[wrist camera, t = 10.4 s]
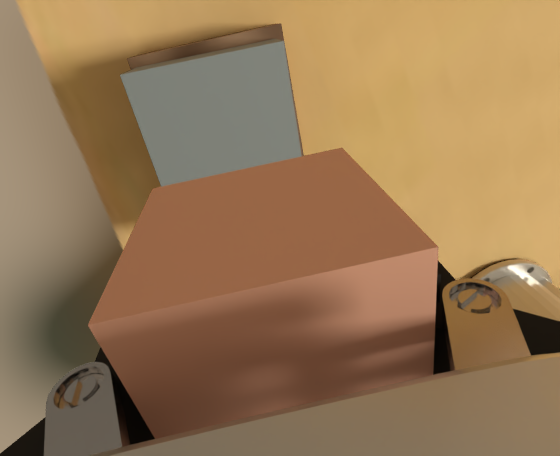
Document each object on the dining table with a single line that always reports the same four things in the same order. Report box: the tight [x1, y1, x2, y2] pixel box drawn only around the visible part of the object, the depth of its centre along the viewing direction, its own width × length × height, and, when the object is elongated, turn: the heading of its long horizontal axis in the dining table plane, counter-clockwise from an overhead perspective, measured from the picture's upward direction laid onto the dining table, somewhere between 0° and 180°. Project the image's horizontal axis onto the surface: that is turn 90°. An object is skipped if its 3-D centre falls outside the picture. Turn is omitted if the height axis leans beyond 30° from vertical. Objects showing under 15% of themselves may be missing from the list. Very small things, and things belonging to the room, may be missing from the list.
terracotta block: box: [88, 148, 438, 439], centre depth 10 cm, size 6×6×6 cm
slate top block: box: [120, 39, 302, 187], centre depth 27 cm, size 10×14×4 cm
